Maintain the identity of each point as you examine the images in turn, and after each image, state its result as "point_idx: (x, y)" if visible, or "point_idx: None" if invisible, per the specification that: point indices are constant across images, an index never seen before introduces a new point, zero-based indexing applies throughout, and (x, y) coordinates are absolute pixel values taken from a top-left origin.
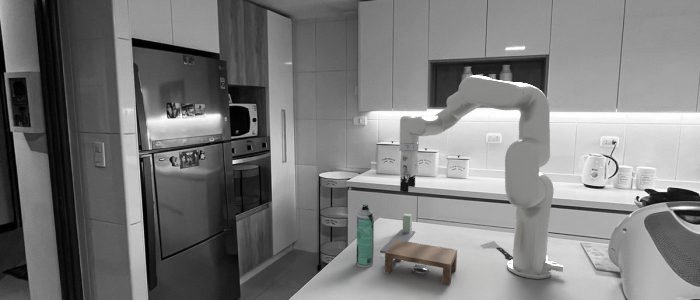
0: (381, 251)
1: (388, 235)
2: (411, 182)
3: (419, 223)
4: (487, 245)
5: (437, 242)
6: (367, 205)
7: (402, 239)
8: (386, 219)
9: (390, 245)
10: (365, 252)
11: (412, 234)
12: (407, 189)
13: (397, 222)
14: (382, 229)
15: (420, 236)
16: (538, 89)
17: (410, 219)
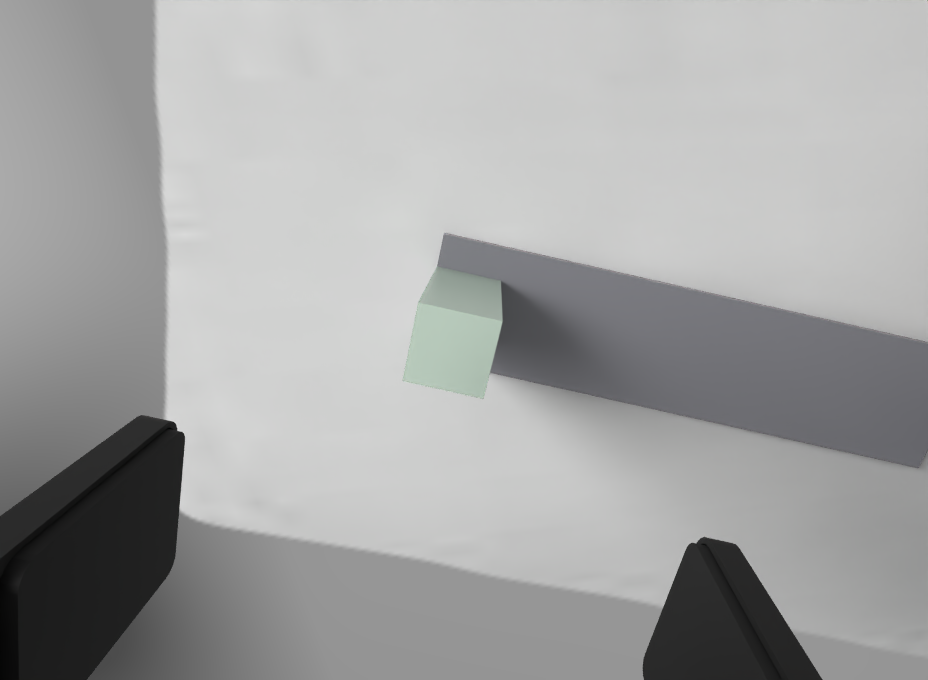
0: (917, 456)
1: (562, 439)
2: (118, 551)
3: (181, 205)
4: None
5: (666, 15)
6: None
7: (669, 330)
8: None
9: (813, 409)
10: None
11: (530, 255)
12: (749, 589)
13: (223, 397)
14: (434, 493)
15: (535, 182)
16: None
17: (485, 307)
